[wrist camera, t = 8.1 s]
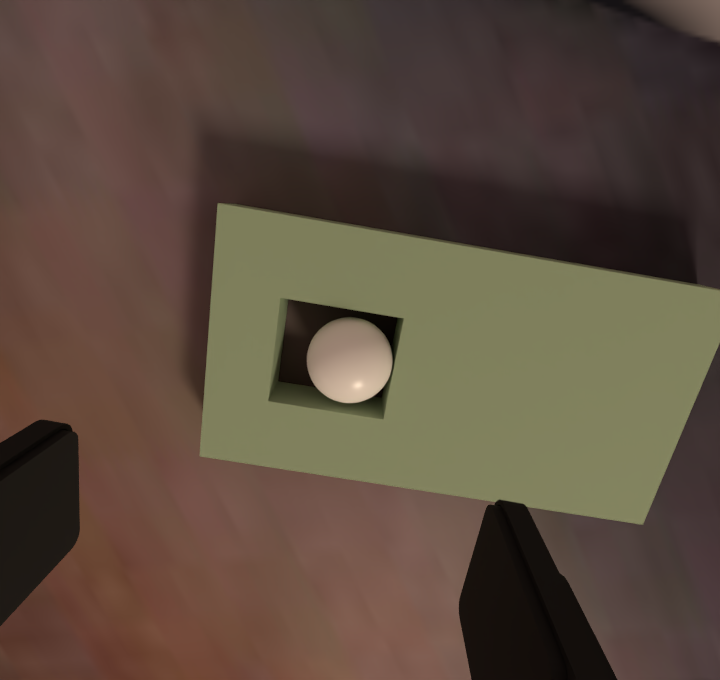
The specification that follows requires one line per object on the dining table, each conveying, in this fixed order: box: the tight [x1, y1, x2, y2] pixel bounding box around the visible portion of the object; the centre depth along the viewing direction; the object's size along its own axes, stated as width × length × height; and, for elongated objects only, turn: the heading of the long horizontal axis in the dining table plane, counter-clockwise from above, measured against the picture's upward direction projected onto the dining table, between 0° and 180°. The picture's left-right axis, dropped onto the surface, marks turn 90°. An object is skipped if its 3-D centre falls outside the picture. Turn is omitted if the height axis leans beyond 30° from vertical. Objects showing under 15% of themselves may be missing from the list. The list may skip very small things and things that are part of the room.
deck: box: [200, 203, 720, 525], centre depth 21 cm, size 22×12×2 cm, turn 80°
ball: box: [307, 317, 393, 403], centre depth 21 cm, size 4×4×4 cm
